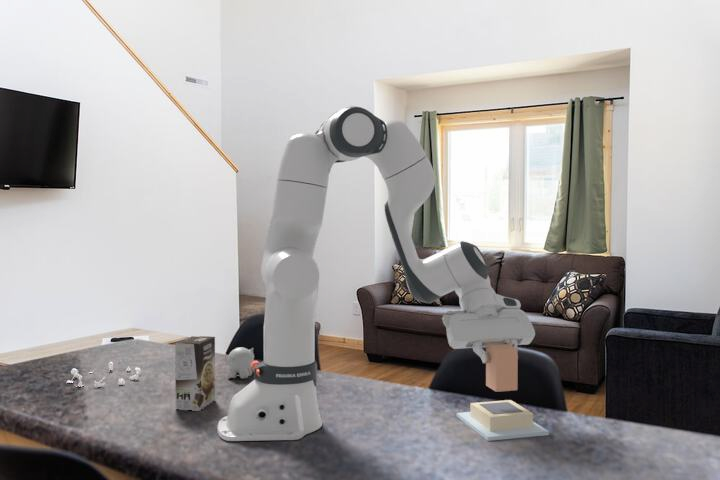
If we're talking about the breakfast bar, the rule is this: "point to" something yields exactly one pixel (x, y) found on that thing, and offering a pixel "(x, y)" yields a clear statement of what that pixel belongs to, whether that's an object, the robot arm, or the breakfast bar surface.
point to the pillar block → (502, 368)
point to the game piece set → (74, 371)
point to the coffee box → (195, 372)
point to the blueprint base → (504, 432)
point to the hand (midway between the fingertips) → (500, 360)
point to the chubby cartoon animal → (240, 362)
